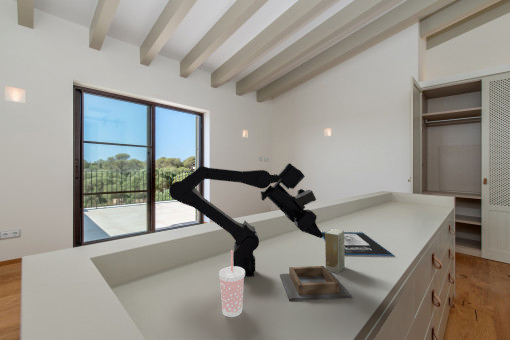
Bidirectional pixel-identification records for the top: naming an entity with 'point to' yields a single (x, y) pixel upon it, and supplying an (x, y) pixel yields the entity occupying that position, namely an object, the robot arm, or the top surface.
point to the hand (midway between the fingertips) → (316, 232)
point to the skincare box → (334, 250)
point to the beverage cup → (232, 289)
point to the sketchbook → (361, 245)
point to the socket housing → (312, 284)
